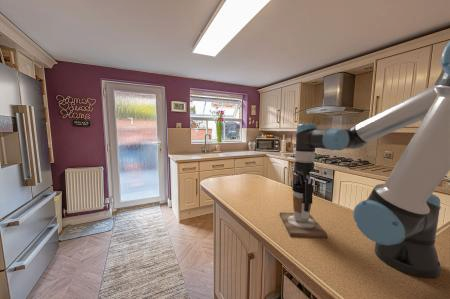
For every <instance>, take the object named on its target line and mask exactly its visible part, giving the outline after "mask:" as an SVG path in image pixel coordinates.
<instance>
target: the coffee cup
mask: <svg viewBox="0 0 450 299" xmlns="http://www.w3.org/2000/svg"><path fill="white" fill-rule="evenodd" d="M291 189H292V191H293V192H292V201H293V203H292V204H293V206H292V207H293V213H294V218H295V219H296V220H298V221H302V222H306V221H308V220H309V219H305V218H301V213H302V203H301V202H303V188H302V186H301V185H298V183H295V182H294V183H293V185H292V188H291ZM314 191H315V190H314V185H313V184H312V194H313V193H314ZM311 207H312V204H310V205H309V214H310V215H311Z"/></svg>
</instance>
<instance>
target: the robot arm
mask: <svg viewBox="0 0 450 299" xmlns="http://www.w3.org/2000/svg"><path fill="white" fill-rule="evenodd" d="M440 62H441V64H440V65H441V68H442V70H441V73H440V74H439V76H438V78H437V79H436V81H435V83H434V84H433V85H431V86H428V88H425V89H423V90H421V91H419V92H417V93H415V94H413V95H411V96H409V97H407V98H406V99H404V100H402V101H399V102H398V103H396V104H394V105H392V106H390V107H388V108H386V109H384V110H381V111H380V112H378V113H376V114H375V115H372V116H370V117H369V118H368V117H367V118H366V119H365V120H363V121H361V122H359V123H357V124H355V125H353V126H351V127H349V128H318V126H317V124H315V123H299V124H298V125H296V126H297V127H296V133H295V149H294V150H295V152H294V160H295V161H294V170H295V180H294V181H295V182H294V184H295V183H298V185H301V186H302V188H303V202H301V203H302V213H301V218H305V219H309V205H310V204H311V205H313V193H312V185H313V183H314V178H311V175H310V173H311V172H314V171H315V162H314V161H315V158H316V149H321V150H330V151H343V150H344V149H346V150H348V149H354V150H355V149H358V148H360V149H361V148H362V147H364V146H365V145H366V144H367V143H368V142H370V141H374V140H376V139H379V138H381V137H385V136H386V135H388V134H390V133H393V132H396V131H399V130H401V129H403V128H405V127H408V126H411V125H414V124H415V123H417V122H420V121H421V123H420V124H419V126H418V127H417V129H416V131H415V133H414V134H413V136H412V137H411V140H410V141H409V142H408V144H407V146H406V147H405V149H404V150H403V152H402V154H401V155H400V158H399V159H398V160H397V163H396V164H395V166H394V167H393V169H392V171H391V172H390V174H389V175H388V177H387V179H386V181H385V182H384V183H380V184H376V185H374V187H373V188H372V190H371V192H370V193H369V196H368V197H367V199H365V200H361V202H359V203H357V204H356V205H355V207H354V209H353V219H354V222H355V223H356V227H357V228H358V230H359V231H360V232H361V233H362V234H363V235H364V236H365V237H366V238H367V239H369V240H371V241H372V242H374V243H375V245H374V253H375V254H376V256H377V257H378V258H379V259H380V260H381V261H383V263H385V264H387V265H389V266H390V267H392V268H394V269H396V270H398V271H400V272H403V273H405V274H409V275H412V276H415V277H419V278H424V279H425V278H426V279H427V278H428V279H434V278H437V277H439V276H440V274H441V270H442V267H441V266H442V265H441V262H440V261H439V256H438V253H437V250H436V246H435V245H436V244H435V243H436V237H437V230H438V223H439V217H440V216H439V215H440V210H441V199H440V197H439V196H437V195H435V194H433V193H434V192H435V191H436V188H438V186H439V185H440V184H441V183H442V181H443V180H444V178H445V177H446V175H447V174H448V173H449V171H450V40H449V41H448V43H447V44H446V45H445V46H444V48H443V50H442V53H441V57H440Z"/></svg>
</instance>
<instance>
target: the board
mask: <svg viewBox="0 0 450 299" xmlns="http://www.w3.org/2000/svg"><path fill="white" fill-rule="evenodd" d="M279 217H280V219H281V221H282V223H283V225H284V227H285V229H286V231H287V233H288V235H289V237H304V238H322V239H323V238H324V239H327V238H328V233H327V232H326V231H325V229H323V227H322V226H321V225H320V224H319V223H318V222H317V220H316V219H315V218H314V217H313V215H311V213H310V214H309V220H308V221H306V222H302V221H298V220H296V219H295V218H294V212H281V211H280V212H279Z"/></svg>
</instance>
